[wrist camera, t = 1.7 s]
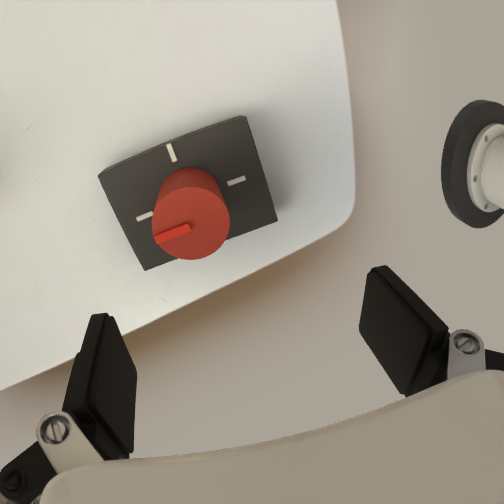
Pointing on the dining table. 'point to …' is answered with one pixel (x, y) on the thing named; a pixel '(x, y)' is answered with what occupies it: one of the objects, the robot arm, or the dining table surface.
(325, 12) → the dining table surface
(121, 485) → the robot arm
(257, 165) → the dark tick-marked fixture
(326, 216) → the dining table surface
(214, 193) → the near red knob
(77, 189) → the dining table surface
